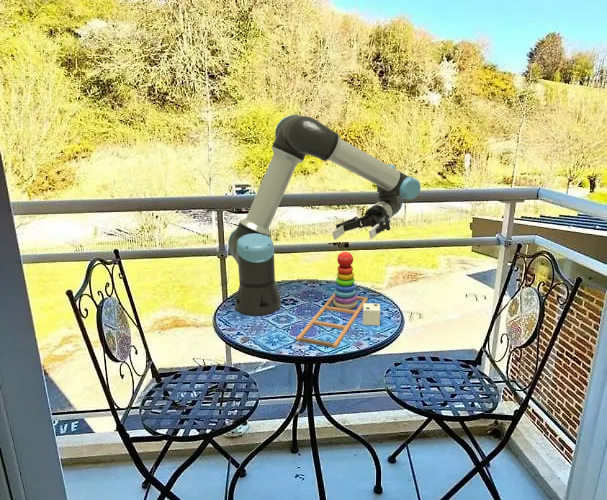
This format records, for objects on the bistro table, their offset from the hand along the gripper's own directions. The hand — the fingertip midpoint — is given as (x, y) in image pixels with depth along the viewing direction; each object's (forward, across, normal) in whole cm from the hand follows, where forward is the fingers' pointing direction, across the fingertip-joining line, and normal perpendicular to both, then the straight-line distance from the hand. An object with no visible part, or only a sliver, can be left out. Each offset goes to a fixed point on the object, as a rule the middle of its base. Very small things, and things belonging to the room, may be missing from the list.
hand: (351, 235), depth 151 cm
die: (+14, -9, -23) cm, 29 cm away
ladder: (+18, +1, -21) cm, 28 cm away
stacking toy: (+8, +3, -22) cm, 24 cm away
